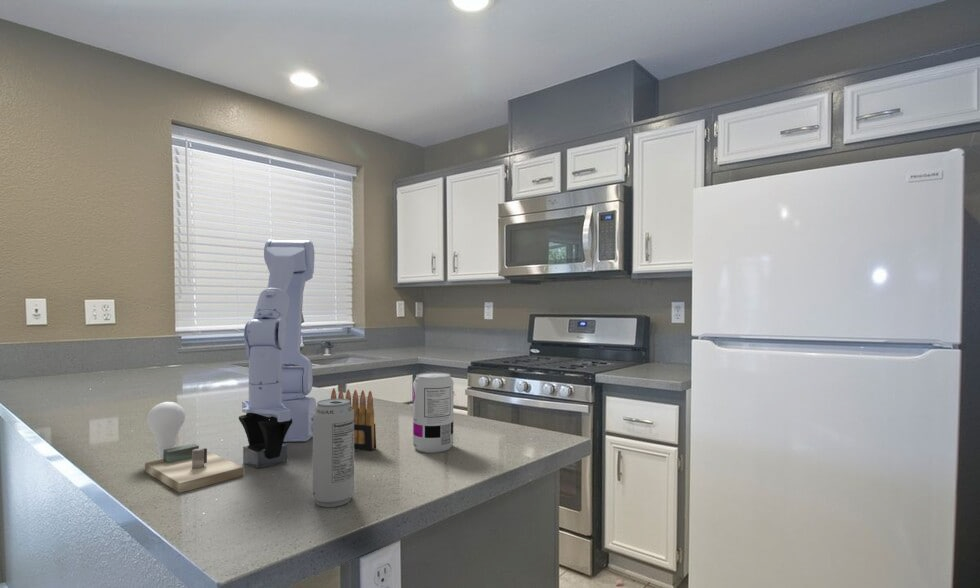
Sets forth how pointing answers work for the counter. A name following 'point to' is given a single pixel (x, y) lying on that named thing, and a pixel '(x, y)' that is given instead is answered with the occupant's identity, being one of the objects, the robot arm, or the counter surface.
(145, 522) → the counter surface
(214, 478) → the stand
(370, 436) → the ammunition clip
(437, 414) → the supplement can
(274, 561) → the counter surface
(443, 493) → the counter surface
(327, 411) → the energy drink can
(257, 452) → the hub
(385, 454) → the counter surface
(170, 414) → the lightbulb
